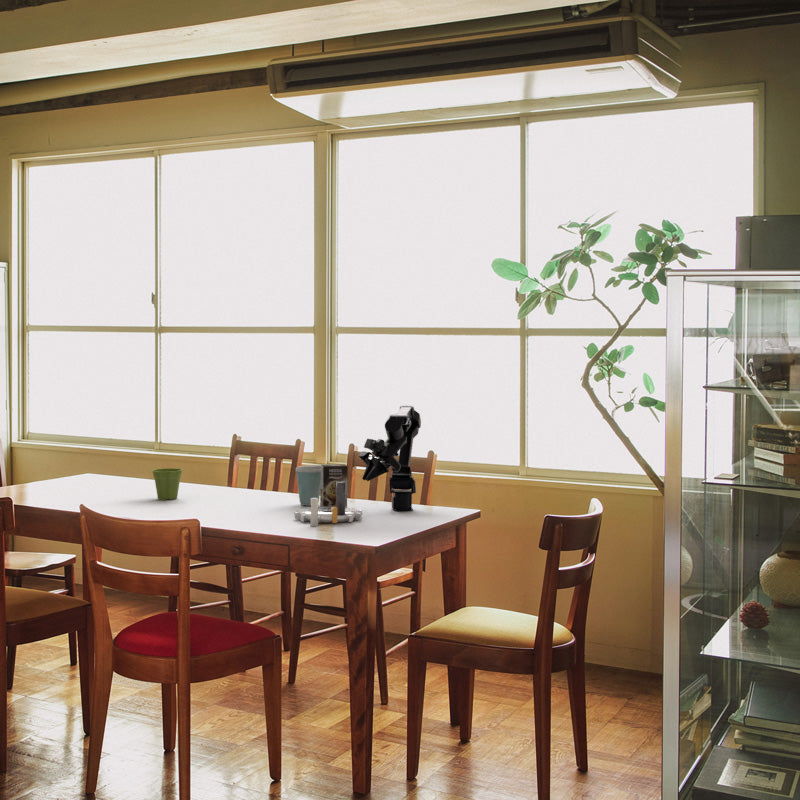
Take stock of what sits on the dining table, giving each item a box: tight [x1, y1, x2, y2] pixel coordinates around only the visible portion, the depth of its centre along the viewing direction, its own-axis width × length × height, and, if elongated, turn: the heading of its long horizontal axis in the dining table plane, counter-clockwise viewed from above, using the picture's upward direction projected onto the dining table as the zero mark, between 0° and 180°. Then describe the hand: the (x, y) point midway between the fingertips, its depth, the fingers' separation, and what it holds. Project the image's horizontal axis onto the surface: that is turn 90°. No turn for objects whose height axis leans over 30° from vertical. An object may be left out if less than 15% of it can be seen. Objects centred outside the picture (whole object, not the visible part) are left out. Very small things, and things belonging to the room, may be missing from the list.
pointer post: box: [310, 498, 319, 527], centre depth 320 cm, size 2×2×9 cm
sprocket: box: [294, 482, 363, 524], centre depth 333 cm, size 23×23×13 cm
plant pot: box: [151, 467, 184, 501], centre depth 374 cm, size 12×12×11 cm
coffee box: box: [319, 463, 349, 508], centre depth 353 cm, size 9×6×16 cm
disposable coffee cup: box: [295, 464, 322, 506], centre depth 362 cm, size 11×11×15 cm
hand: (364, 479), depth 331 cm, fingers closed
